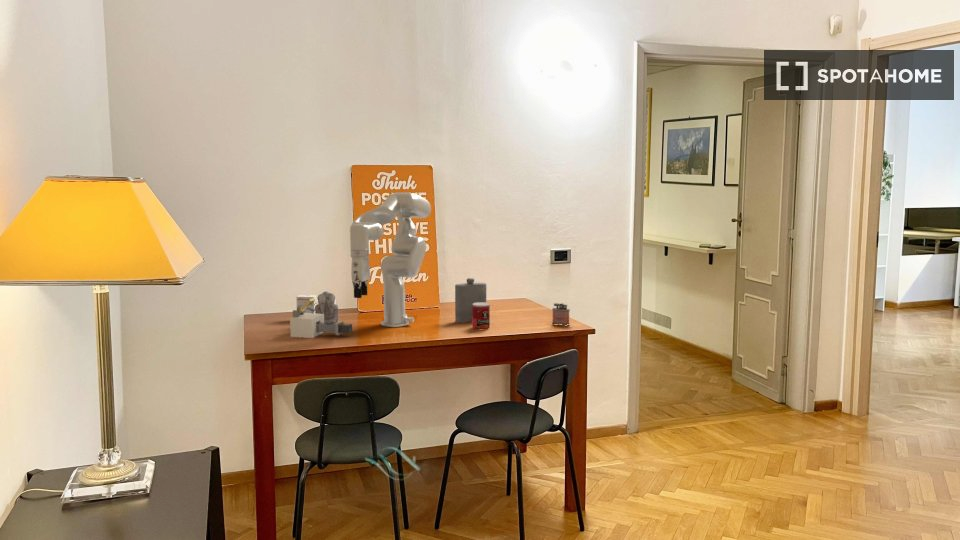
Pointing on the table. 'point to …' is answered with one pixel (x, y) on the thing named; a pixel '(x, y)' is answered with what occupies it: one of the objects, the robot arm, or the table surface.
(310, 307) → the ink box
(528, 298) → the table surface
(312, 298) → the lever
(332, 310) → the figurine
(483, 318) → the canned food
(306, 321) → the block
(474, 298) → the flask
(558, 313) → the lighter
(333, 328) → the pin
